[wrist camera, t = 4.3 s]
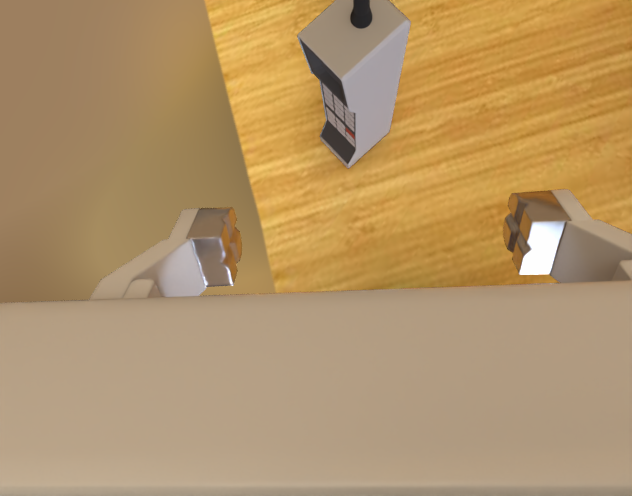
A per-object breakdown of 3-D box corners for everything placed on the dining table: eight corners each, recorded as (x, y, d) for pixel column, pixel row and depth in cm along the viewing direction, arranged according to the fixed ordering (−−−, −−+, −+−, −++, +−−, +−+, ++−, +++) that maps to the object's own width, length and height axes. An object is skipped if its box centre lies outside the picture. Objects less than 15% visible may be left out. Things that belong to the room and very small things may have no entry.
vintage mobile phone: (320, 141, 41) (264, -101, 16) (361, 104, 41) (367, -193, 16) (348, 170, 40) (334, -34, 16) (389, 132, 41) (441, -130, 16)
